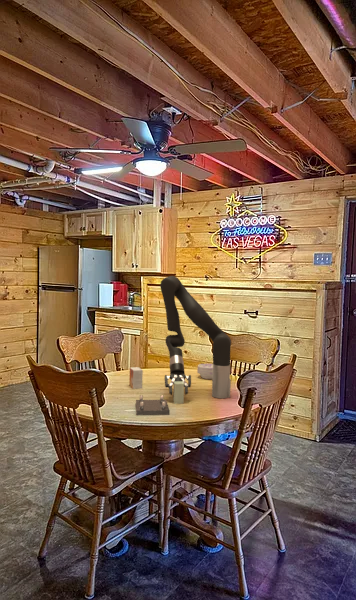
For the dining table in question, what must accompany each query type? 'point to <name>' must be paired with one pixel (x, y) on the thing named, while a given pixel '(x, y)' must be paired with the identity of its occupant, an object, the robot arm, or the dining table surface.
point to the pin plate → (152, 406)
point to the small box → (135, 377)
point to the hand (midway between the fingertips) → (178, 394)
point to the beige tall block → (178, 392)
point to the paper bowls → (205, 371)
